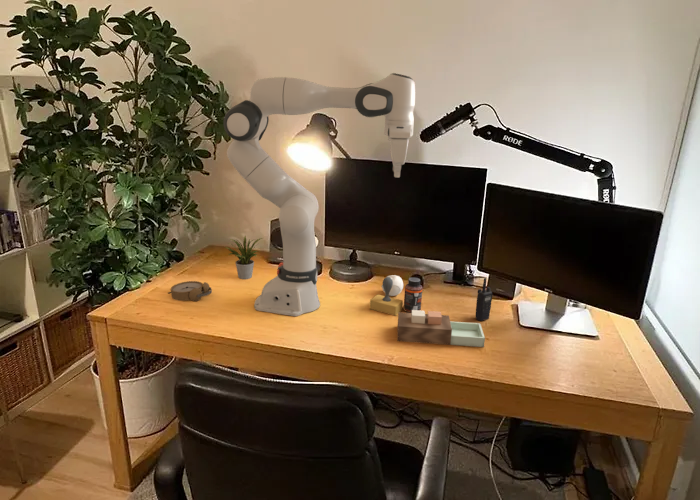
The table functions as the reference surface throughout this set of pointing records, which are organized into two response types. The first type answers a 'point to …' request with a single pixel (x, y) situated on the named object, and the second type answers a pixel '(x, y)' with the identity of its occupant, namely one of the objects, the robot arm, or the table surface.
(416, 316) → the cream tile
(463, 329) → the tray
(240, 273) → the house plant
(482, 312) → the two-way radio
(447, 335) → the dark wooden box
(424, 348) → the table surface
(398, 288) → the motion sensor
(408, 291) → the supplement bottle
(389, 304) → the rubber stamp
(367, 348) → the table surface
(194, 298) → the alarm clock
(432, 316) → the terracotta tile
